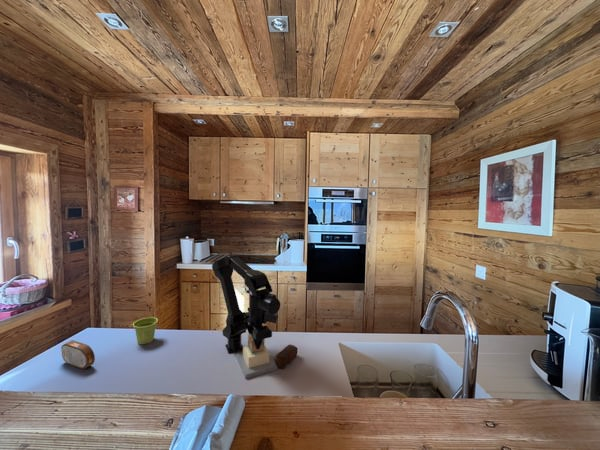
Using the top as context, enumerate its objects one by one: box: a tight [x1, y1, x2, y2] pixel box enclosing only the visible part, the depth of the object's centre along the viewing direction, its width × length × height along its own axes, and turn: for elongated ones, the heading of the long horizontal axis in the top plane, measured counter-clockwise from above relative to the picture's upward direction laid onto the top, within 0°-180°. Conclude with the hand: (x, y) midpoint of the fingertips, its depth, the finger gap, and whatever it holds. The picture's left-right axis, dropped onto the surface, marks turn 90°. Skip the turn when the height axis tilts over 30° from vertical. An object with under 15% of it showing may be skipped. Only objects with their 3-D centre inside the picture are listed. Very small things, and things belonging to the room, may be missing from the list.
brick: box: [274, 344, 299, 370], centre depth 98 cm, size 11×4×5 cm, turn 151°
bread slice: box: [61, 339, 96, 370], centre depth 92 cm, size 15×3×8 cm, turn 71°
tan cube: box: [247, 333, 266, 353], centre depth 96 cm, size 5×5×5 cm
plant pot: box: [132, 317, 159, 345], centre depth 110 cm, size 9×9×9 cm
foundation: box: [235, 344, 278, 380], centre depth 96 cm, size 14×12×6 cm
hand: (255, 345), depth 96 cm, fingers closed on tan cube, 5 cm apart
